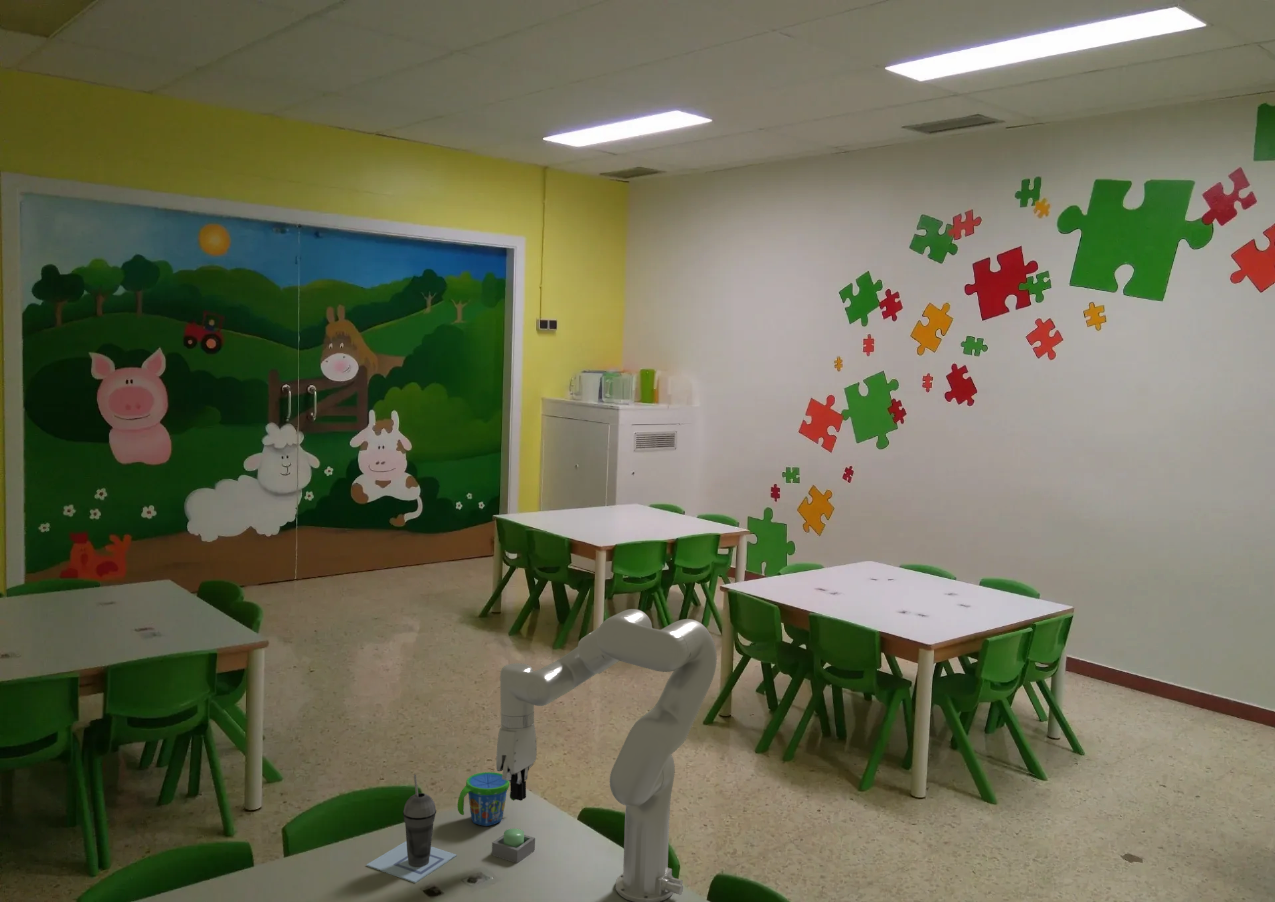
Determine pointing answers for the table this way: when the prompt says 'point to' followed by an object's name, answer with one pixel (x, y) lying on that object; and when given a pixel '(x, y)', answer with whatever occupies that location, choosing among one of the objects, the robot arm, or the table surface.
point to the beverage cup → (419, 827)
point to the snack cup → (485, 797)
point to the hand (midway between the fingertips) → (518, 798)
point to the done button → (514, 837)
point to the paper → (399, 866)
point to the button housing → (513, 849)
